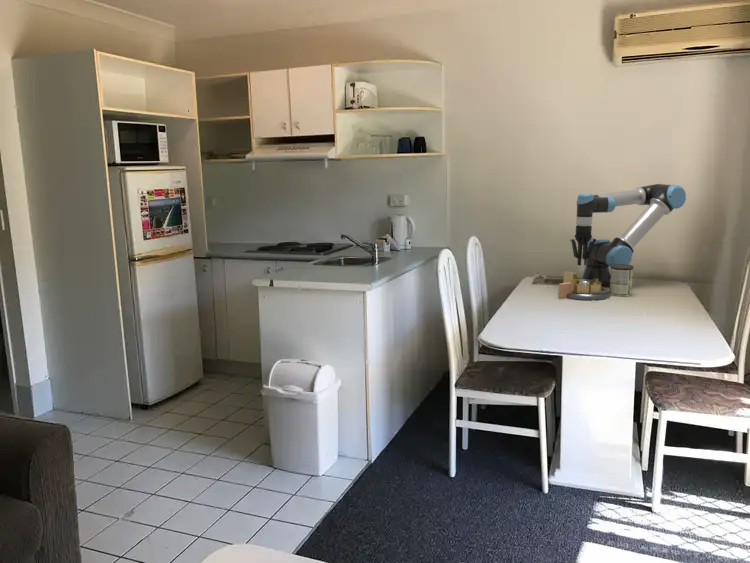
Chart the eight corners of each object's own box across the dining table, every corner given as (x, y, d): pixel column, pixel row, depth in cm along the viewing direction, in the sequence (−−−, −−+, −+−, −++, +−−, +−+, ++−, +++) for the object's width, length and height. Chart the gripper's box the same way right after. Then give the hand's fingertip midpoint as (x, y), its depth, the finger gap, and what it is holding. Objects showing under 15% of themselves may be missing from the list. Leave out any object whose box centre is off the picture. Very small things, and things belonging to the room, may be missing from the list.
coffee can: (606, 291, 311) (608, 264, 308) (628, 291, 310) (629, 264, 307) (612, 296, 301) (614, 267, 298) (634, 296, 300) (636, 267, 297)
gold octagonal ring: (607, 291, 300) (608, 277, 299) (582, 294, 295) (582, 280, 293) (577, 283, 320) (578, 270, 319) (552, 286, 315) (553, 272, 313)
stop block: (568, 296, 302) (568, 282, 301) (571, 297, 300) (572, 283, 299) (558, 297, 300) (559, 283, 298) (561, 298, 298) (562, 284, 296)
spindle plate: (599, 289, 317) (599, 275, 315) (618, 299, 293) (619, 285, 292) (552, 290, 316) (552, 276, 315) (567, 301, 293) (568, 286, 291)
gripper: (593, 224, 314) (590, 269, 319) (568, 224, 313) (565, 270, 317) (599, 225, 306) (596, 272, 311) (574, 226, 305) (571, 273, 310)
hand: (581, 271), depth 314 cm, fingers closed
